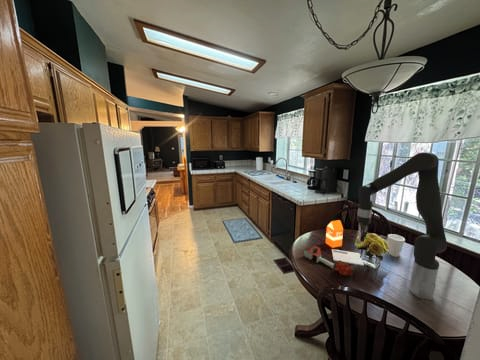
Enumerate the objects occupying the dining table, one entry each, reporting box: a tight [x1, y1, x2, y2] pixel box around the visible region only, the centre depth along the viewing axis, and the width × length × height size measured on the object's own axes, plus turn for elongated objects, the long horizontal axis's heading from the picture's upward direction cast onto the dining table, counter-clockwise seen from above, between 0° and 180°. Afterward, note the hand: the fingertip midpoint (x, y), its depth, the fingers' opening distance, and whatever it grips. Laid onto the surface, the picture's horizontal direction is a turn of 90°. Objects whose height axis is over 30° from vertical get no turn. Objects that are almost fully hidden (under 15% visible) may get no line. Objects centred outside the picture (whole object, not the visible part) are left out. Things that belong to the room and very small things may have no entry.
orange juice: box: [325, 219, 344, 249], centre depth 152 cm, size 8×9×20 cm
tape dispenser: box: [303, 245, 335, 269], centre depth 135 cm, size 18×5×20 cm
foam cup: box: [387, 233, 406, 258], centre depth 139 cm, size 10×9×13 cm
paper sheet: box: [331, 248, 365, 267], centre depth 137 cm, size 14×18×1 cm
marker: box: [357, 226, 366, 243], centre depth 129 cm, size 4×4×12 cm
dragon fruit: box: [333, 260, 356, 277], centre depth 120 cm, size 8×8×12 cm
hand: (361, 239), depth 130 cm, fingers closed on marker, 3 cm apart
